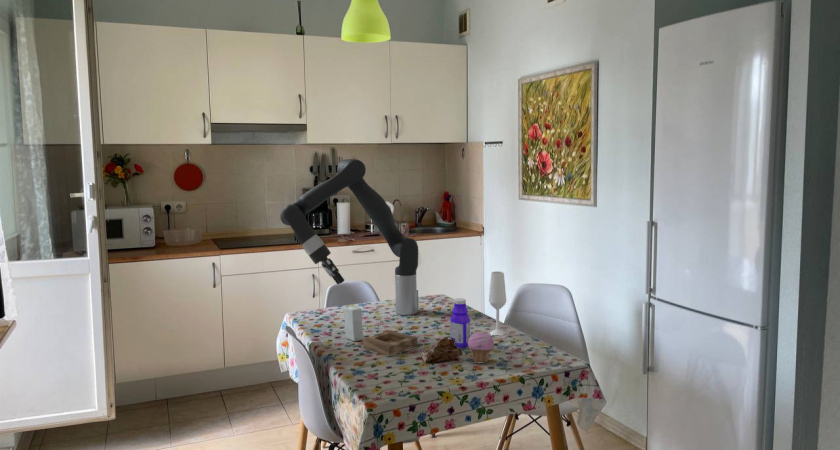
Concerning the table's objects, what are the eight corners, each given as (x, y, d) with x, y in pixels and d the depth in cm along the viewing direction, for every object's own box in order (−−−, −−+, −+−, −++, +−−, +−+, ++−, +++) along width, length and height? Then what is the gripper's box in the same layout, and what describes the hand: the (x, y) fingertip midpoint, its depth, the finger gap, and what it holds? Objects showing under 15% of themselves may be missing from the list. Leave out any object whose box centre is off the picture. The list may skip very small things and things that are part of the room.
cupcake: (467, 357, 220) (467, 329, 219) (492, 357, 220) (492, 328, 219) (468, 366, 211) (468, 336, 210) (494, 366, 211) (494, 336, 210)
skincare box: (363, 339, 242) (362, 308, 241) (353, 342, 239) (352, 310, 238) (354, 336, 247) (353, 305, 245) (344, 338, 244) (343, 307, 243)
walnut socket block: (391, 339, 242) (390, 330, 242) (417, 346, 232) (417, 337, 232) (362, 348, 232) (362, 338, 232) (389, 356, 222) (389, 346, 222)
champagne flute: (486, 335, 245) (486, 273, 242) (492, 330, 251) (492, 270, 248) (502, 337, 242) (502, 275, 239) (508, 332, 248) (508, 271, 245)
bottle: (473, 346, 232) (472, 299, 230) (463, 350, 228) (462, 302, 226) (457, 342, 237) (457, 296, 235) (447, 345, 233) (447, 299, 231)
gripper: (325, 241, 241) (351, 275, 242) (322, 245, 255) (346, 277, 256) (309, 253, 239) (335, 288, 240) (307, 256, 253) (331, 289, 254)
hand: (341, 282), depth 248 cm, fingers open, 8 cm apart
